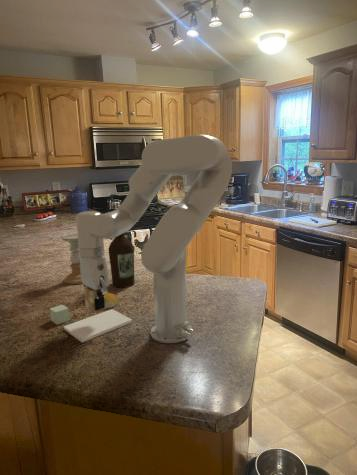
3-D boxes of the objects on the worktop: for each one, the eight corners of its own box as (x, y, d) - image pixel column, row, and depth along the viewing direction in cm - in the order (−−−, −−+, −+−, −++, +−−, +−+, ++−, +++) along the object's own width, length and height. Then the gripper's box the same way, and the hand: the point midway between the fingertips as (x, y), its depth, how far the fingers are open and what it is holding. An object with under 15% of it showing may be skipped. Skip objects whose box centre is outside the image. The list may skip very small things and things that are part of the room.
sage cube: (69, 320, 118) (68, 308, 117) (56, 325, 115) (55, 312, 114) (63, 316, 121) (62, 304, 120) (51, 320, 118) (49, 308, 117)
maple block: (105, 308, 112) (104, 287, 111) (92, 312, 109) (91, 291, 108) (98, 304, 115) (96, 284, 114) (85, 308, 112) (84, 287, 111)
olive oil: (107, 283, 153) (102, 227, 148) (129, 278, 159) (125, 223, 153) (117, 290, 144) (112, 230, 139) (140, 284, 150) (136, 227, 144)
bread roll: (116, 298, 136) (116, 289, 135) (118, 307, 128) (117, 297, 127) (94, 301, 134) (94, 291, 133) (94, 310, 126) (93, 300, 125)
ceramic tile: (132, 322, 115) (131, 319, 115) (82, 342, 103) (81, 339, 103) (112, 311, 124) (112, 309, 124) (63, 329, 112) (63, 326, 112)
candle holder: (58, 282, 156) (53, 238, 152) (77, 274, 167) (73, 232, 162) (78, 286, 150) (74, 240, 146) (97, 277, 161) (94, 234, 157)
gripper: (117, 254, 105) (120, 311, 109) (89, 244, 117) (92, 296, 121) (94, 259, 100) (99, 318, 104) (67, 249, 112) (72, 302, 116)
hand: (95, 306), depth 112 cm, fingers closed on maple block, 4 cm apart
